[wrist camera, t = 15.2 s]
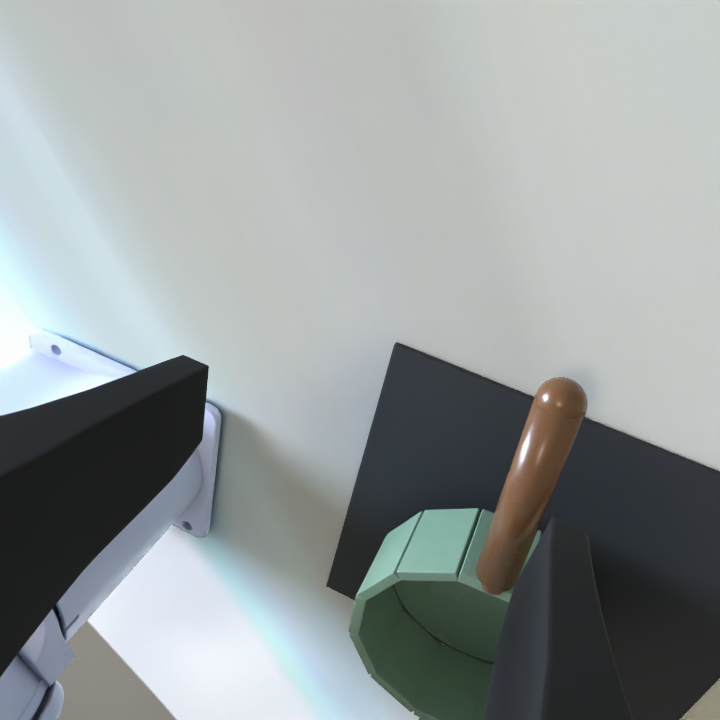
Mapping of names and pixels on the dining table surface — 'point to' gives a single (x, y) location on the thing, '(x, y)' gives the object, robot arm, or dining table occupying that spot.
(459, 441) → the mat
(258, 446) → the dining table surface
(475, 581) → the frying pan
